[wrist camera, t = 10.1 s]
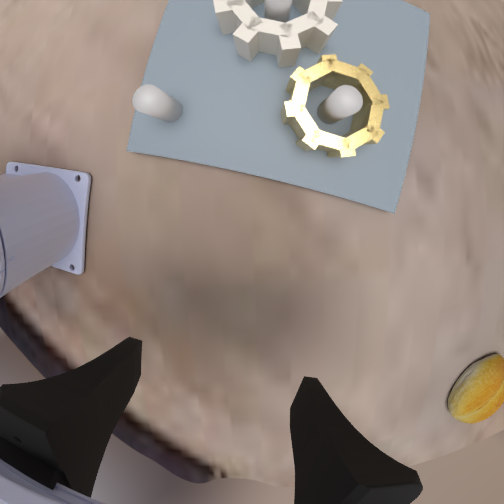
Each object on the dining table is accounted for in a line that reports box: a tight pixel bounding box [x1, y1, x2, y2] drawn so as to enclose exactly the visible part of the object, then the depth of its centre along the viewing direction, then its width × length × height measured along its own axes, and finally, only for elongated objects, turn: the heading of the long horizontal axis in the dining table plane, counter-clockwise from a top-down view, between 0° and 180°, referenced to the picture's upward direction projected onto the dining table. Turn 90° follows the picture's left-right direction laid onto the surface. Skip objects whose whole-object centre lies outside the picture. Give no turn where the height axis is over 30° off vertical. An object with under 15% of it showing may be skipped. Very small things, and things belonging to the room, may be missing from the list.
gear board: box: [127, 0, 430, 214], centre depth 15 cm, size 18×16×6 cm
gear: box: [213, 0, 343, 68], centre depth 14 cm, size 7×7×3 cm
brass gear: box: [280, 54, 390, 157], centre depth 16 cm, size 6×6×3 cm
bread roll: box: [448, 354, 504, 424], centre depth 23 cm, size 8×9×4 cm
